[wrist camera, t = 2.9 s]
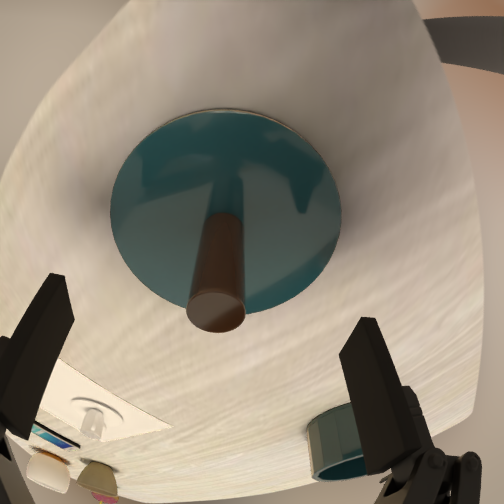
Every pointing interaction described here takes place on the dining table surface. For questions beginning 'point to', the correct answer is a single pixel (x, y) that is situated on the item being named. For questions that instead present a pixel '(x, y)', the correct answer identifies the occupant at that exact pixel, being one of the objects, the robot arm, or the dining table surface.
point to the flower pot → (98, 479)
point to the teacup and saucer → (93, 407)
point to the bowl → (335, 446)
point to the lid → (225, 215)
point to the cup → (48, 472)
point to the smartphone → (54, 438)
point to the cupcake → (105, 498)
